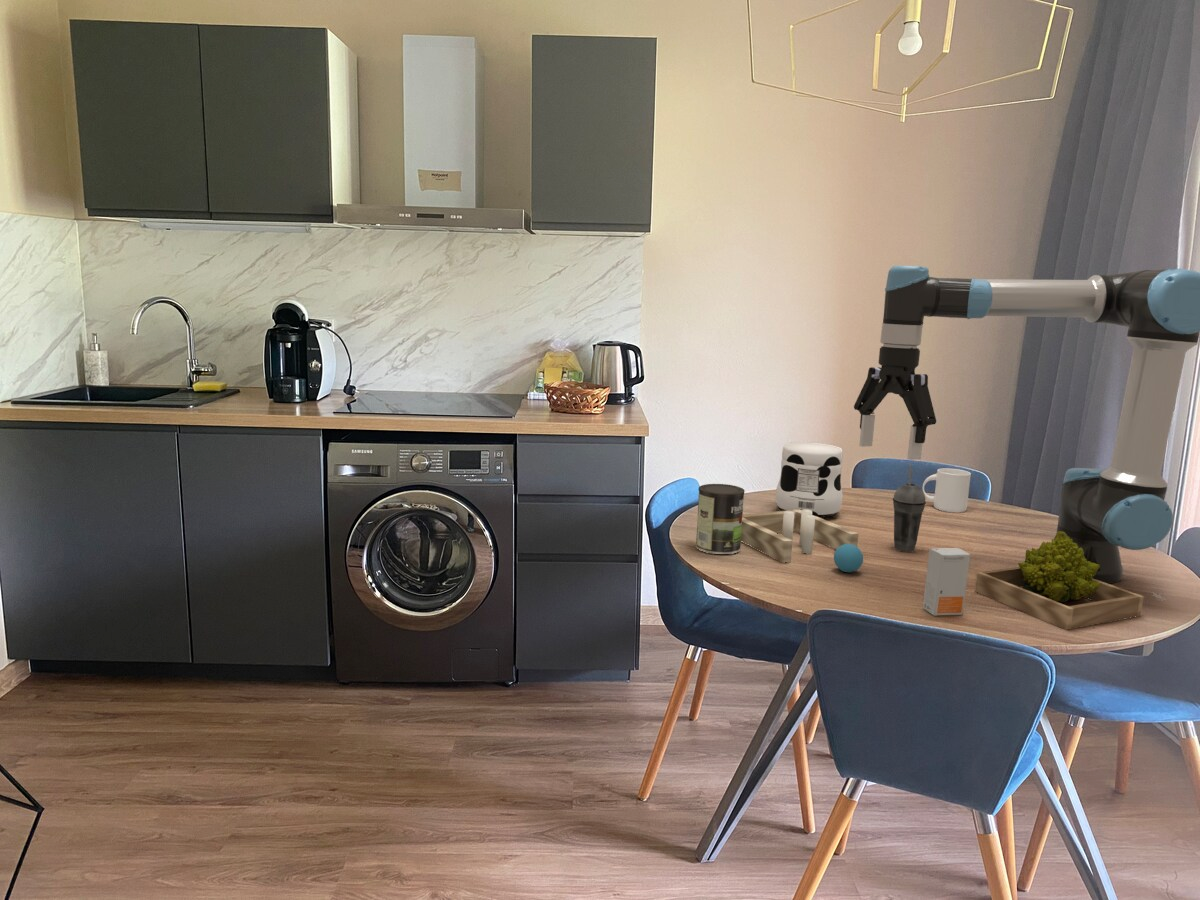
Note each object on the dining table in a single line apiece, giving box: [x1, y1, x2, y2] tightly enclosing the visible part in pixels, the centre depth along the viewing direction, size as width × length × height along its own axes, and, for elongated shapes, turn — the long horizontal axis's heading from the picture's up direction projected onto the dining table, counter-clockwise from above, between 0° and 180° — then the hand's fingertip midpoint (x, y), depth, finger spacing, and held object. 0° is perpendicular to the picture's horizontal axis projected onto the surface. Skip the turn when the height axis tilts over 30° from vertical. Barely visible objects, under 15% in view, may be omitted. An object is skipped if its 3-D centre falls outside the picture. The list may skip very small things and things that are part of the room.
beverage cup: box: [892, 465, 927, 553], centre depth 202 cm, size 7×7×20 cm
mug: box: [922, 467, 972, 513], centre depth 243 cm, size 9×12×11 cm
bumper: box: [741, 509, 859, 564], centre depth 203 cm, size 22×20×5 cm
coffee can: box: [695, 483, 746, 555], centre depth 198 cm, size 10×10×14 cm
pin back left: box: [781, 511, 794, 541], centre depth 201 cm, size 2×2×8 cm
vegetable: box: [1017, 531, 1101, 603], centre depth 172 cm, size 15×16×15 cm
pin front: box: [800, 515, 815, 555], centre depth 198 cm, size 2×2×8 cm
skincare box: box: [922, 547, 971, 617], centre depth 163 cm, size 6×4×12 cm
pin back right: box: [798, 509, 812, 548], centre depth 203 cm, size 2×2×8 cm
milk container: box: [775, 441, 844, 518], centre depth 232 cm, size 17×17×18 cm
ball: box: [833, 544, 864, 573], centre depth 185 cm, size 6×6×6 cm
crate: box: [974, 566, 1144, 630], centre depth 171 cm, size 21×20×4 cm
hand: (889, 452), depth 175 cm, fingers open, 13 cm apart
